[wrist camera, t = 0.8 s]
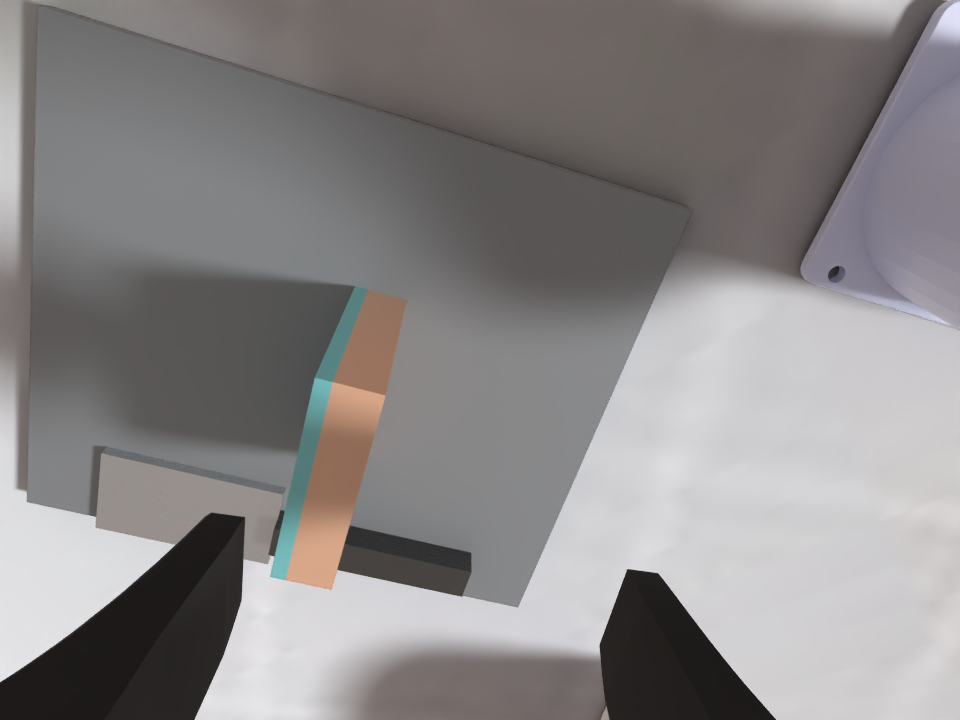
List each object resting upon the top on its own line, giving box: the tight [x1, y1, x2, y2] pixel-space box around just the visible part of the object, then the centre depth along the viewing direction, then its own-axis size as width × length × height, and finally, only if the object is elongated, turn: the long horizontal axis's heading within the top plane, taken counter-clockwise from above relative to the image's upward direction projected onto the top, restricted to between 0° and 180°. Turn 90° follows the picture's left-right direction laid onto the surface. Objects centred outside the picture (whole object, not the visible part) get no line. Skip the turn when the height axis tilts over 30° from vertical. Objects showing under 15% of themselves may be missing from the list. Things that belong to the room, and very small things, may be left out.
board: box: [27, 5, 692, 607], centre depth 22 cm, size 18×16×1 cm
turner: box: [96, 447, 472, 597], centre depth 24 cm, size 13×3×1 cm, turn 73°
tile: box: [270, 286, 407, 590], centre depth 19 cm, size 2×6×6 cm, turn 163°
